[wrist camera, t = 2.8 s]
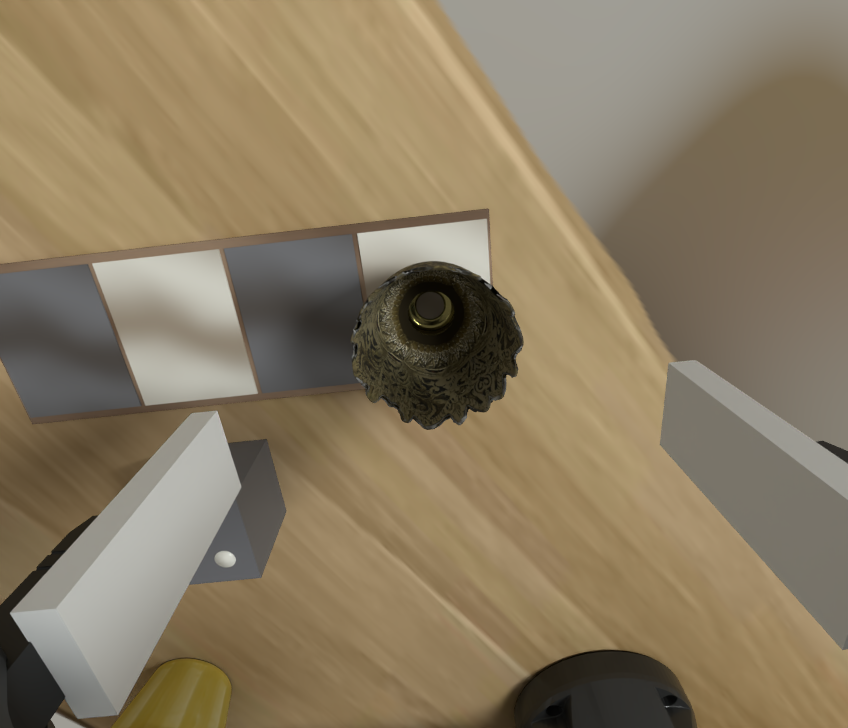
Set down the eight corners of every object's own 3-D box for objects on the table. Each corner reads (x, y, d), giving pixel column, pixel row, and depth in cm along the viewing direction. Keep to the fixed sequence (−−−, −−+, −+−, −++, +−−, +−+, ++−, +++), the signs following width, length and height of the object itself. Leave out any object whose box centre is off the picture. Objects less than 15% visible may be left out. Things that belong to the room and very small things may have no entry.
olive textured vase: (341, 310, 27) (314, 361, 20) (423, 211, 25) (427, 227, 18) (435, 385, 29) (442, 457, 22) (519, 299, 27) (558, 346, 20)
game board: (496, 373, 29) (497, 375, 29) (34, 422, 30) (31, 424, 30) (488, 208, 26) (489, 209, 25) (-41, 268, 26) (-45, 269, 26)
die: (286, 510, 33) (260, 578, 28) (204, 518, 33) (161, 588, 28) (267, 438, 31) (234, 496, 25) (178, 447, 31) (126, 507, 26)
